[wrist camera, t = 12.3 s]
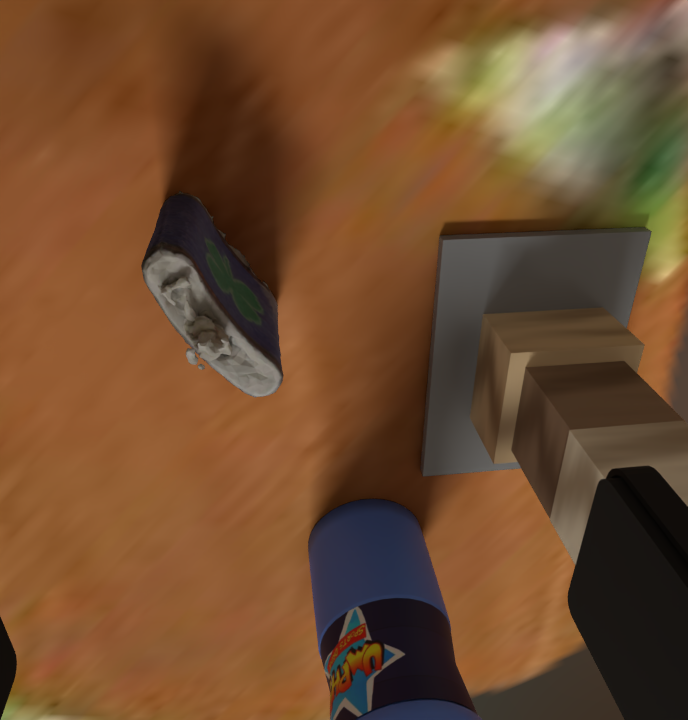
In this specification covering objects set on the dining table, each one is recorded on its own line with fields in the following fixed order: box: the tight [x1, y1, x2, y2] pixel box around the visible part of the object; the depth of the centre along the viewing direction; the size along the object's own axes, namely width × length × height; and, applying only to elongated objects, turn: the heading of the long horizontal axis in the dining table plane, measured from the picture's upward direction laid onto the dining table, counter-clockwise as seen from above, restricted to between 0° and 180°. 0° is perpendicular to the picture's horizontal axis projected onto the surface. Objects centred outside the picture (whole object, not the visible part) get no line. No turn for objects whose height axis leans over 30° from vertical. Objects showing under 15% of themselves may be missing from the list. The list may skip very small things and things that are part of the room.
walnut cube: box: [511, 361, 683, 518], centre depth 35 cm, size 6×6×6 cm
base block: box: [470, 307, 644, 464], centre depth 40 cm, size 8×8×5 cm
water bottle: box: [308, 499, 482, 720], centre depth 39 cm, size 9×9×25 cm
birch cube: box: [550, 420, 688, 565], centre depth 30 cm, size 6×6×6 cm
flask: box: [141, 191, 283, 397], centre depth 32 cm, size 9×3×11 cm, turn 32°
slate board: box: [420, 227, 652, 476], centre depth 42 cm, size 18×13×1 cm
